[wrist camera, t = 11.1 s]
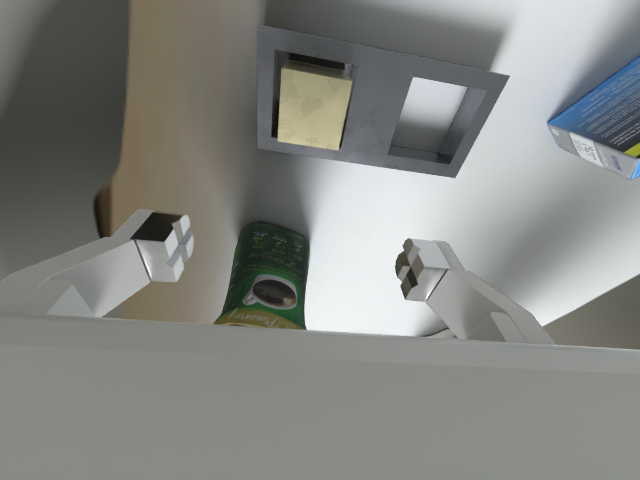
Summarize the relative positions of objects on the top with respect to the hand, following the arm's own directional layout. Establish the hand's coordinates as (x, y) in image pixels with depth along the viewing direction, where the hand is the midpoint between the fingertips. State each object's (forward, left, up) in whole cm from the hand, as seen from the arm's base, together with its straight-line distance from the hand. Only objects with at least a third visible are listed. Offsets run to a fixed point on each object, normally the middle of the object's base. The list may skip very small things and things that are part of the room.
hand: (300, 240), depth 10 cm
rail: (-6, -1, -19) cm, 20 cm away
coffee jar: (+2, +18, -20) cm, 27 cm away
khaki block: (0, -1, -20) cm, 20 cm away
